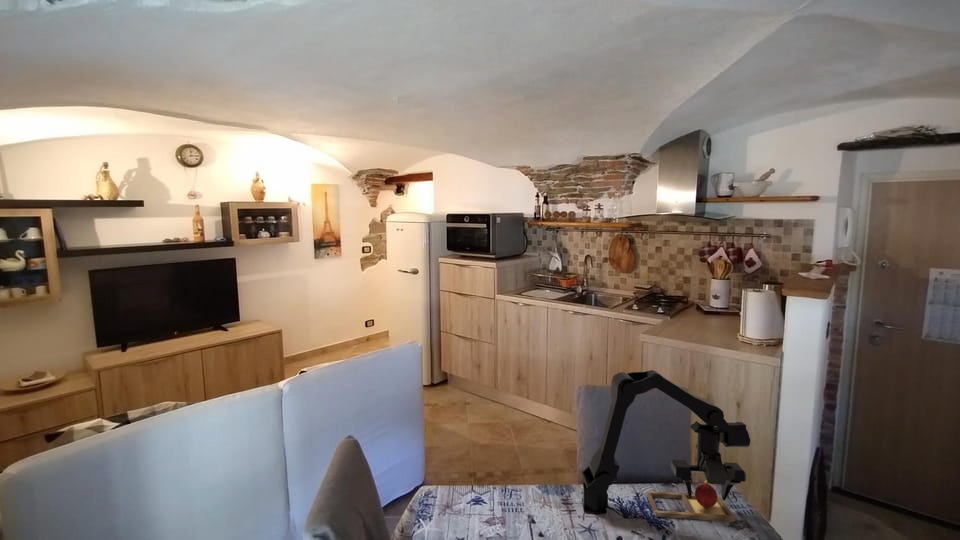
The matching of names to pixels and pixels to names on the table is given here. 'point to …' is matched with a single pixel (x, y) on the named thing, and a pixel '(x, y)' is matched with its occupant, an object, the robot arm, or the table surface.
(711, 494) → the red pomegranate
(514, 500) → the table surface
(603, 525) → the table surface
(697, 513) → the wooden divided frame
